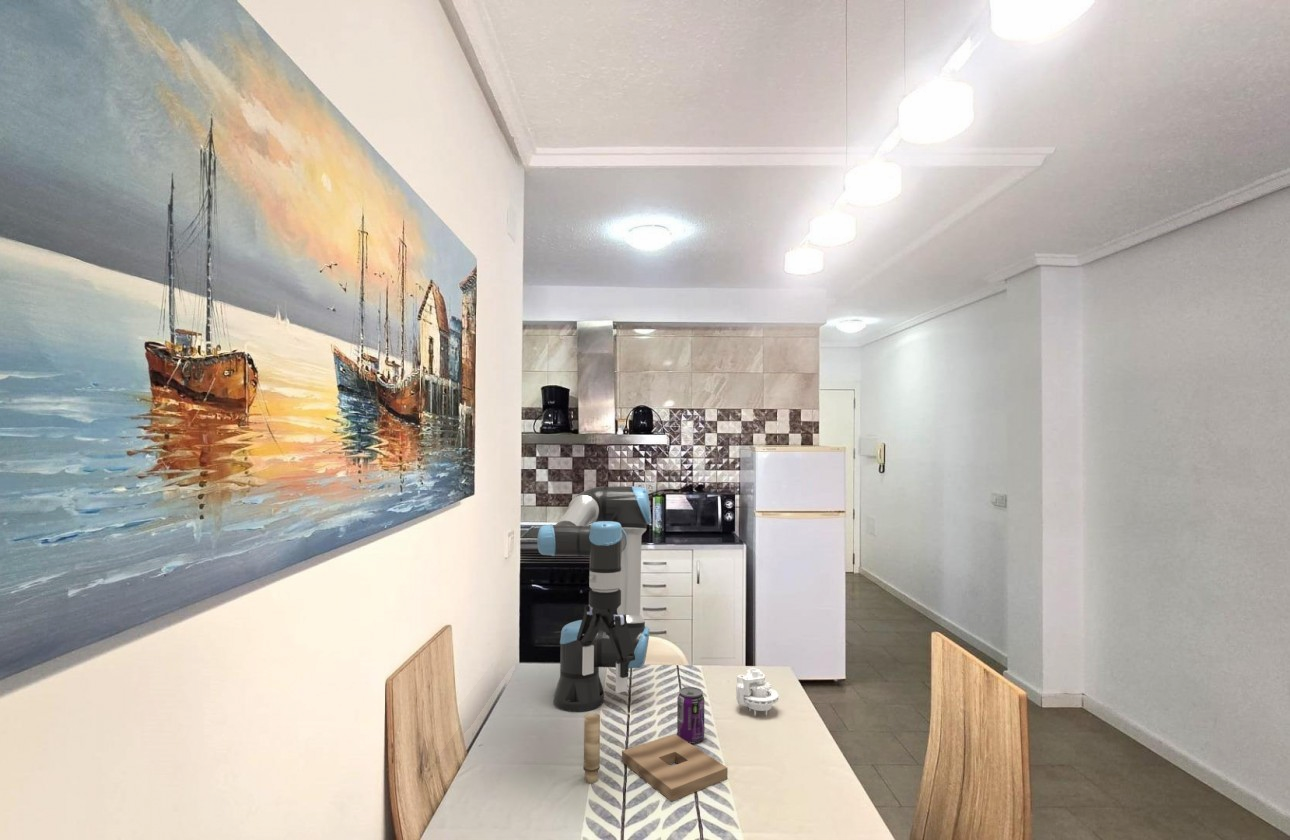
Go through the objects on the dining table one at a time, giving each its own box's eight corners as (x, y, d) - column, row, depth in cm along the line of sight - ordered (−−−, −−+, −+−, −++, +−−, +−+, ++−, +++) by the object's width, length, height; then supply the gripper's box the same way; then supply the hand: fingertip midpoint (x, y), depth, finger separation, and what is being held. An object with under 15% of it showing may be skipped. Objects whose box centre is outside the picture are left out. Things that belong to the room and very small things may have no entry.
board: (621, 761, 142) (621, 750, 142) (674, 743, 151) (674, 733, 151) (671, 801, 125) (671, 789, 125) (727, 778, 134) (727, 767, 134)
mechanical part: (776, 722, 163) (775, 678, 164) (733, 716, 167) (733, 673, 168) (780, 706, 174) (780, 665, 175) (740, 701, 178) (739, 661, 179)
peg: (580, 778, 134) (581, 715, 135) (594, 773, 136) (595, 711, 137) (588, 785, 131) (588, 720, 132) (602, 780, 133) (603, 716, 134)
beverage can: (702, 746, 150) (702, 697, 150) (675, 743, 151) (675, 695, 152) (705, 733, 157) (705, 687, 157) (679, 731, 158) (679, 685, 159)
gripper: (563, 582, 145) (562, 670, 143) (624, 601, 125) (623, 703, 124) (589, 578, 149) (588, 664, 148) (651, 596, 130) (650, 695, 129)
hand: (604, 682), depth 136 cm, fingers open, 13 cm apart
